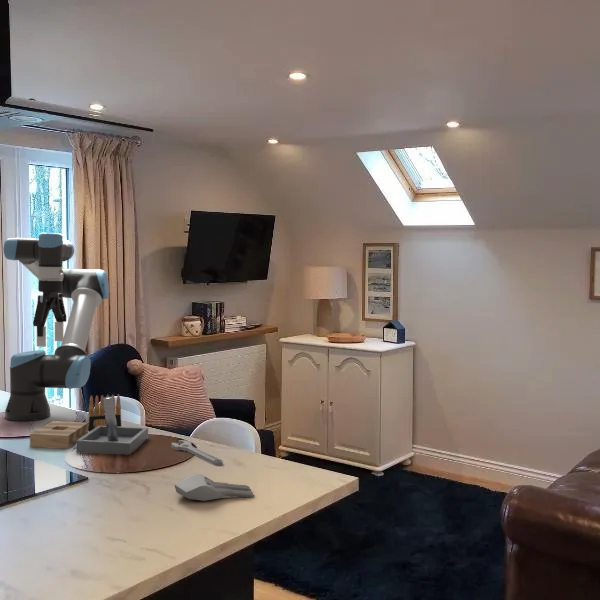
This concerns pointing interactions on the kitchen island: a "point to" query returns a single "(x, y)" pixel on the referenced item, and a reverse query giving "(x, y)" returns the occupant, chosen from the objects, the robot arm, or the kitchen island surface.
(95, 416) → the ammunition clip
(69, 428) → the tan board with hole
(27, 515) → the kitchen island surface
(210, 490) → the turret
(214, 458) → the adjustable wrench
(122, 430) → the tray
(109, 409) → the pin
